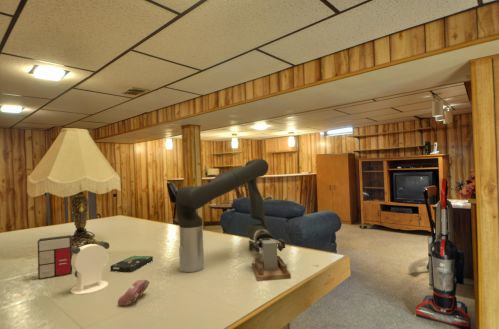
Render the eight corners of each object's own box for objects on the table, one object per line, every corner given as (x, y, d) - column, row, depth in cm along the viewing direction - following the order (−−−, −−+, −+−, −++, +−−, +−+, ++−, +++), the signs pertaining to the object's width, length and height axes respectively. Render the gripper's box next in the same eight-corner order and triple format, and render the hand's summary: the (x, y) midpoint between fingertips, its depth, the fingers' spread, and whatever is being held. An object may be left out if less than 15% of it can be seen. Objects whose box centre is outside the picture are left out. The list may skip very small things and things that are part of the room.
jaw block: (264, 271, 106) (263, 243, 106) (262, 266, 111) (261, 240, 111) (277, 270, 106) (276, 242, 107) (275, 265, 111) (274, 239, 111)
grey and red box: (37, 280, 110) (37, 240, 110) (40, 276, 113) (39, 238, 114) (71, 274, 115) (70, 236, 115) (72, 271, 118) (71, 234, 119)
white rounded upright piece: (101, 278, 109) (100, 238, 109) (115, 285, 101) (114, 242, 102) (65, 289, 99) (64, 246, 100) (78, 297, 92) (77, 250, 92)
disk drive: (131, 274, 114) (153, 262, 128) (131, 267, 114) (153, 255, 129) (110, 272, 117) (133, 261, 131) (109, 265, 117) (133, 254, 131)
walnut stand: (257, 281, 100) (256, 269, 100) (252, 267, 115) (251, 256, 115) (290, 278, 102) (290, 266, 102) (281, 264, 117) (281, 254, 117)
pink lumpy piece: (128, 312, 84) (137, 291, 84) (115, 304, 85) (124, 283, 85) (145, 297, 94) (154, 278, 94) (134, 290, 95) (142, 272, 94)
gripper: (246, 231, 123) (250, 240, 107) (278, 229, 125) (287, 238, 108) (247, 249, 123) (251, 260, 107) (279, 246, 124) (288, 257, 108)
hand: (269, 249), depth 108 cm, fingers open, 8 cm apart
